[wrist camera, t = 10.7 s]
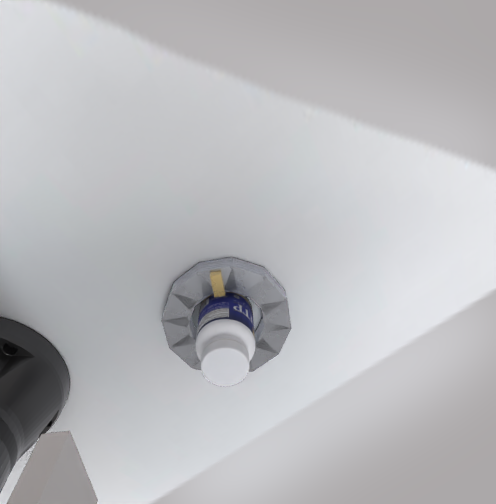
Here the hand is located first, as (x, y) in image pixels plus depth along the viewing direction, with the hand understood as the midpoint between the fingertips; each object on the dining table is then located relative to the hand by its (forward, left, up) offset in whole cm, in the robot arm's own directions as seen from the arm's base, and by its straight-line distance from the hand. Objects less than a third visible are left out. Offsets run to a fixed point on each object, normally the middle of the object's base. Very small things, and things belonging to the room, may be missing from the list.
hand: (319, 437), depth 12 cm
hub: (-5, -14, -29) cm, 32 cm away
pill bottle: (-5, -13, -29) cm, 32 cm away
